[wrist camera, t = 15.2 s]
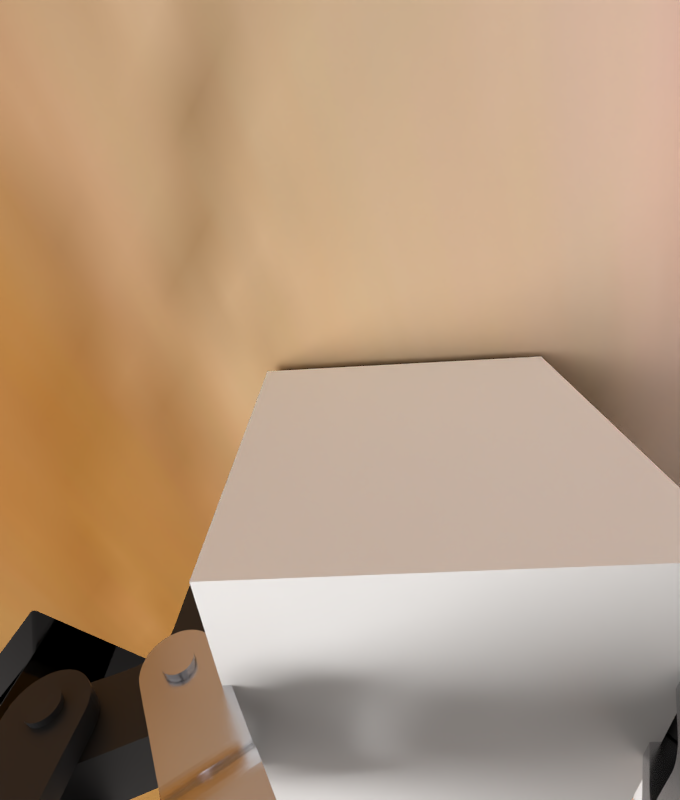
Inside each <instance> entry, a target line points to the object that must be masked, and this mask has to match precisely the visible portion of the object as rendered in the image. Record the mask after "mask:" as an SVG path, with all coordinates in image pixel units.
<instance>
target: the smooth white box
mask: <svg viewBox="0 0 680 800" xmlns="http://www.w3.org/2000/svg"><path fill="white" fill-rule="evenodd" d="M190 586H191V589H192V592H193V595H194V598H195V602H196V605H197V608H198V611H199V614H200V617H201V621H202V624H203V627H204V630H205V633H206V637H207V640H208V643H209V646H210V649H211V652H212V656H213V659H214V662H215V665H216V668H217V672H218V675H219V678H220V681H221V684H222V685H232V687H233V690H234V693H235V696H236V698H237V701H238V704H239V706H240V709H241V712H242V714H243V717H244V720H245V722H246V725H247V728H248V730H249V733H250V736H251V738H252V741H253V743H254V744H255V746H256V748H257V750H258V753H259V755H260V758H261V760H262V763H263V766H264V768H265V771H266V774H267V776H268V779H269V782H270V784H271V787H272V790H273V792H274V795H275V798H276V800H632V798H633V796H634V794H635V792H636V790H637V788H638V786H639V785H640V783H641V781H642V772H643V754H644V752H645V750H646V748H647V746H648V744H649V742H662V740H663V738H664V737H665V735H666V733H667V731H668V729H669V727H670V725H671V723H672V721H673V719H674V717H675V715H676V713H677V707H676V688H677V686H678V684H679V682H680V487H679V486H677V485H676V484H675V483H674V482H673V481H672V480H671V479H670V478H669V477H668V476H667V475H666V474H665V473H664V472H663V471H662V470H661V469H660V468H658V467H657V466H656V465H655V464H654V463H653V462H652V461H651V460H650V459H649V458H648V457H647V456H646V455H645V454H644V453H643V452H642V451H640V450H639V449H638V448H637V447H636V446H635V445H634V444H633V443H632V442H631V441H630V440H629V439H628V438H627V437H626V436H625V435H624V434H623V433H621V432H620V431H619V430H618V429H617V428H616V427H615V426H614V425H613V424H612V423H611V422H610V421H609V420H608V419H607V418H606V417H605V416H603V415H602V414H601V413H600V412H599V411H598V410H597V409H596V408H595V407H594V406H593V405H592V404H591V403H590V402H589V401H588V400H587V399H586V398H584V397H583V396H582V395H581V394H580V393H579V392H578V391H577V390H576V389H575V388H574V387H573V386H572V385H571V384H570V383H569V382H568V381H567V380H565V379H564V378H563V377H562V376H561V375H560V374H559V373H558V372H557V371H556V370H555V369H554V368H553V367H552V366H551V365H550V364H549V363H547V362H546V361H545V360H544V359H543V358H542V357H541V356H540V357H522V358H503V359H485V360H466V361H448V362H430V363H411V364H393V365H374V366H356V367H337V368H319V369H300V370H282V371H267V374H266V377H265V379H264V382H263V385H262V387H261V390H260V393H259V396H258V398H257V401H256V404H255V406H254V409H253V412H252V414H251V417H250V420H249V423H248V425H247V428H246V431H245V433H244V436H243V439H242V441H241V444H240V447H239V449H238V452H237V455H236V458H235V460H234V463H233V466H232V468H231V471H230V474H229V476H228V479H227V482H226V485H225V487H224V490H223V493H222V495H221V498H220V501H219V503H218V506H217V509H216V512H215V514H214V517H213V520H212V522H211V525H210V528H209V530H208V533H207V536H206V538H205V541H204V544H203V547H202V549H201V552H200V555H199V557H198V560H197V563H196V565H195V568H194V571H193V574H192V576H191V579H190Z"/></svg>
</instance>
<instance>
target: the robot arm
mask: <svg viewBox="0 0 680 800" xmlns="http://www.w3.org/2000/svg"><path fill="white" fill-rule="evenodd" d="M676 707H677V713H676V715H675V717H674V719H673V721H672V723H671V725H670V727H669V729H668V731H667V733H666V735H665V737H664V738H663V740H662V742H649V744H648V746H647V748H646V750H645V752H644V754H643V772H642V800H680V682H679V684H678V686H677V688H676ZM156 788H159V795H160V800H276V798H275V795H274V792H273V790H272V787H271V784H270V782H269V779H268V776H267V774H266V771H265V768H264V766H263V763H262V760H261V758H260V755H259V753H258V750H257V748H256V746H255V744H254V743H253V741H252V738H251V736H250V733H249V730H248V728H247V725H246V722H245V720H244V717H243V714H242V712H241V709H240V706H239V704H238V701H237V698H236V696H235V693H234V690H233V687H232V685H222V684H221V681H220V678H219V675H218V672H217V668H216V665H215V662H214V659H213V656H212V652H211V649H210V646H209V643H208V640H207V637H206V633H205V630H204V627H203V624H202V621H201V617H200V614H199V611H198V608H197V605H196V602H195V598H194V595H193V592H192V589H191V586H189V589H188V592H187V594H186V597H185V600H184V602H183V605H182V608H181V611H180V613H179V616H178V619H177V622H176V624H175V627H174V629H173V632H172V634H171V635H170V636H169V637H167V638H165V639H164V640H163V641H161V642H160V643H159V644H158V645H157V646H155V647H154V648H153V650H152V651H151V652H150V653H149V655H148V656H147V658H146V659H145V661H144V662H143V663H142V664H140V665H138V666H136V667H134V668H131V669H129V670H126V671H123V672H120V673H117V674H114V675H112V676H109V677H106V678H103V679H100V680H97V681H94V682H91V683H90V681H89V679H88V678H87V677H86V675H85V674H83V673H82V672H80V671H77V670H71V669H68V670H60V671H56V672H53V673H51V674H48V675H46V676H44V677H42V678H40V679H39V680H37V681H35V682H34V683H32V684H31V685H30V686H29V687H27V688H26V689H25V690H24V691H23V692H22V693H21V694H19V696H18V697H17V698H16V699H15V700H14V701H13V702H12V704H11V705H10V706H9V708H8V709H7V710H6V712H5V713H4V715H3V716H2V718H1V720H0V800H130V799H132V798H135V797H137V796H139V795H142V794H144V793H146V792H149V791H151V790H154V789H156Z"/></svg>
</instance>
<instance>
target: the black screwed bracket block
mask: <svg viewBox="0 0 680 800" xmlns="http://www.w3.org/2000/svg"><path fill="white" fill-rule="evenodd" d="M144 661H145V658H143V657H141V656H138V655H136V654H134V653H132V652H129V651H127V650H125V649H122V648H120V647H118V646H116V645H113V644H111V643H109V642H106V641H104V640H102V639H99V638H97V637H95V636H93V635H90V634H88V633H86V632H83V631H81V630H79V629H77V628H74V627H72V626H70V625H67V624H65V623H63V622H61V621H58V620H56V619H54V618H51V617H49V616H47V615H45V614H42V613H40V612H38V611H32V612H31V613H30V614H29V615H28V617H27V618H26V619H25V621H24V622H23V624H22V625H21V626H20V628H19V629H18V630H17V632H16V633H15V634H14V636H13V637H12V638H11V640H10V641H9V643H8V644H7V645H6V647H5V648H4V649H3V651H2V652H1V653H0V720H1V718H2V716H3V715H4V713H5V712H6V710H7V709H8V708H9V706H10V705H11V704H12V702H13V701H14V700H15V699H16V698H17V697H18V696H19V694H21V693H22V692H23V691H24V690H25V689H26V688H27V687H29V686H30V685H31V684H32V683H34V682H35V681H37V680H39V679H40V678H42V677H44V676H46V675H48V674H51V673H53V672H56V671H60V670H68V669H71V670H77V671H80V672H82V673H83V674H85V675H86V677H87V678H88V679H89V681H90V683H91V682H94V681H97V680H100V679H103V678H106V677H109V676H112V675H114V674H117V673H120V672H123V671H126V670H129V669H131V668H134V667H136V666H138V665H140V664H142V663H143V662H144Z"/></svg>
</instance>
